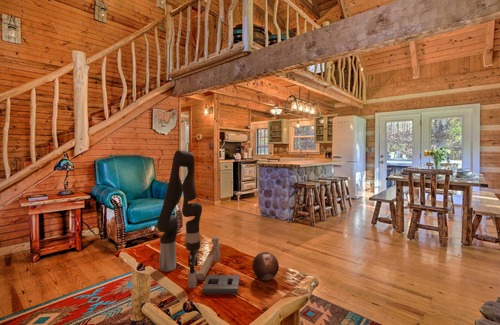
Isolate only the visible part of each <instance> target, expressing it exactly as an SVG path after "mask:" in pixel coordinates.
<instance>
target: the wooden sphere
mask: <svg viewBox="0 0 500 325" xmlns="http://www.w3.org/2000/svg"><path fill="white" fill-rule="evenodd" d="M279 267H280V264H279V261H278V259H277V257H276V256H275V255H274V254H273V253H271V252H268V251H262V252H260V253H258V254H256V256H255V257H254V258H253V261H252V266H251V268H252V272H253V273H254V275H255V276H256V277H257V278H258V279H260V280H262V281H269V280H272V279H274V278H275V277H276V276H277V274H278V272H279V269H280V268H279Z"/></svg>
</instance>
